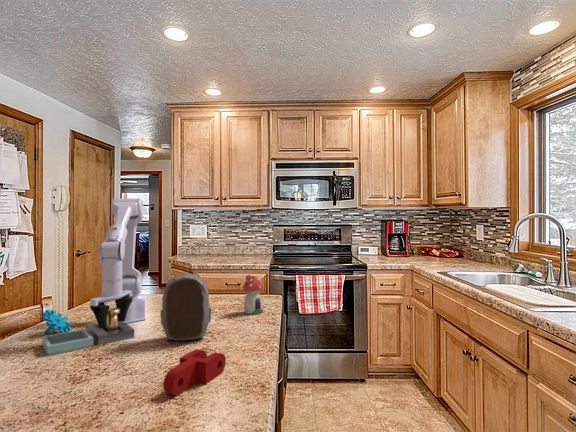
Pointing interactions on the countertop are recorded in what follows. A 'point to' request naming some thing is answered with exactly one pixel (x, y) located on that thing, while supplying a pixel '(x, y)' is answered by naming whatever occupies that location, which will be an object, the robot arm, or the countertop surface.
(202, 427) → the countertop surface
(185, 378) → the mechanical linkage
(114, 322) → the pin
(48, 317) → the gear
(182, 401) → the countertop surface
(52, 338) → the pin tray
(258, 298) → the decorative ornament
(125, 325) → the grey flat block
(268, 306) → the countertop surface
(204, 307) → the small grey backpack
